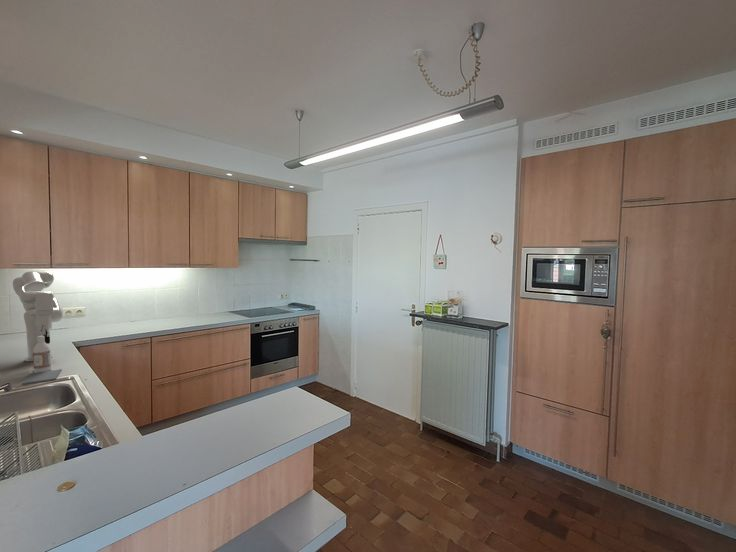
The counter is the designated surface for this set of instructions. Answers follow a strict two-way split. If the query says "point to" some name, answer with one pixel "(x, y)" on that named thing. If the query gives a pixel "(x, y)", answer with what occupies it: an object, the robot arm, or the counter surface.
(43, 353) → the bath foam
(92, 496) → the counter surface
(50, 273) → the robot arm
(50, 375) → the mat
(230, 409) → the counter surface
